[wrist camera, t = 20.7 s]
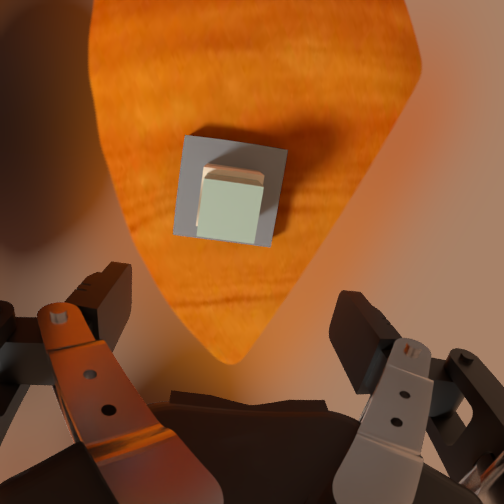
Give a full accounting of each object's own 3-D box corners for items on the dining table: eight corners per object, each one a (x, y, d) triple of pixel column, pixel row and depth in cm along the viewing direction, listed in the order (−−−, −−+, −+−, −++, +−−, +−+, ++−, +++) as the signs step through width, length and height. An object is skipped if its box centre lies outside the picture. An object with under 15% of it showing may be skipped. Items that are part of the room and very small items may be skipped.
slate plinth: (188, 135, 38) (185, 134, 35) (283, 149, 39) (288, 150, 36) (176, 228, 42) (172, 234, 39) (267, 240, 43) (270, 247, 40)
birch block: (207, 163, 36) (203, 166, 31) (258, 170, 37) (264, 175, 31) (200, 213, 38) (195, 226, 32) (250, 220, 39) (254, 233, 33)
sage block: (207, 173, 31) (204, 178, 26) (258, 180, 31) (263, 187, 27) (200, 222, 32) (196, 236, 28) (250, 229, 33) (253, 243, 28)
